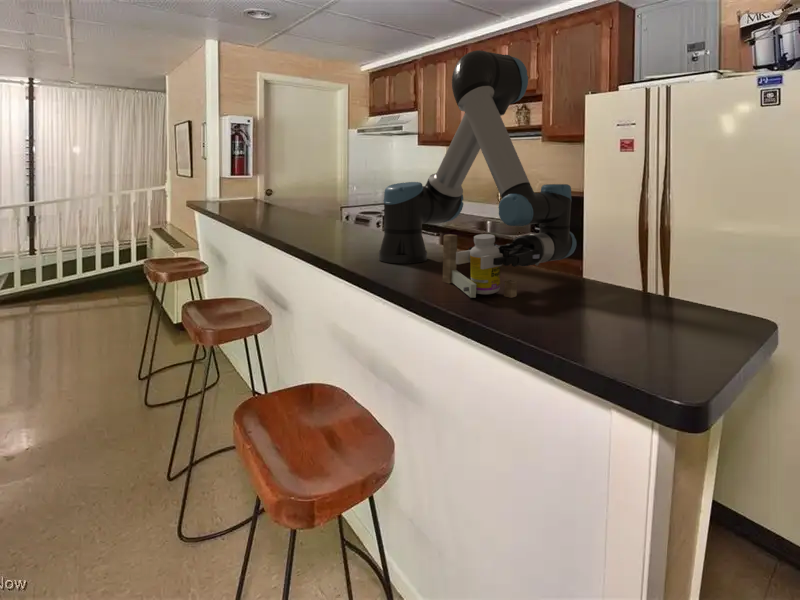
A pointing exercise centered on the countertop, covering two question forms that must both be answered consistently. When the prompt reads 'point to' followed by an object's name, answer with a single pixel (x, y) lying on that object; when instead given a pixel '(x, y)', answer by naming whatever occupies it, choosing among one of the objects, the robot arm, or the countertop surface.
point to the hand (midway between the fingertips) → (469, 260)
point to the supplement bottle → (483, 278)
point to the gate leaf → (464, 283)
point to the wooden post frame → (450, 265)
